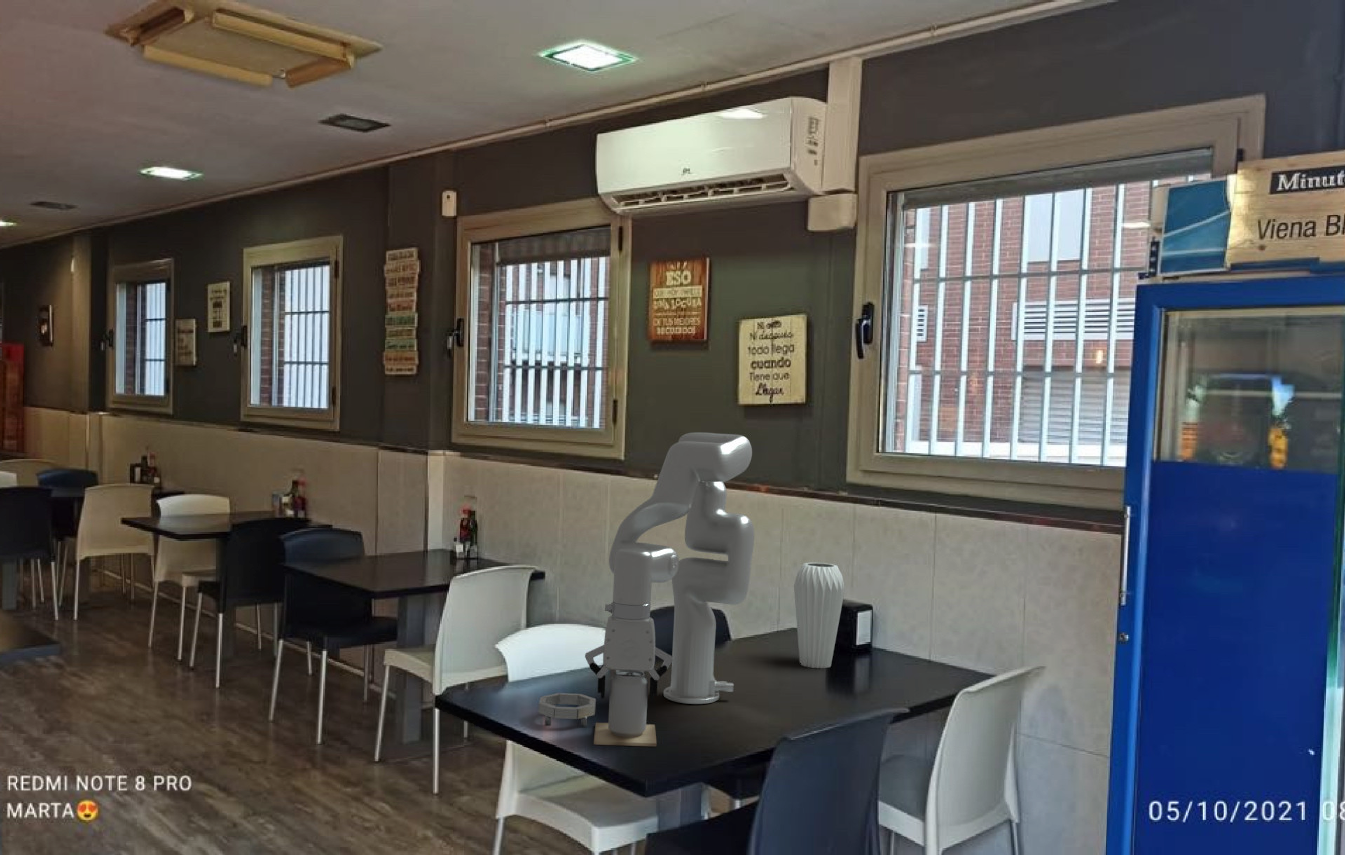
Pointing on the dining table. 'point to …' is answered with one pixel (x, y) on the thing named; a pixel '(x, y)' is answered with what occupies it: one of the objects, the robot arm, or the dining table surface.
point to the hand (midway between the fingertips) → (627, 697)
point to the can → (628, 703)
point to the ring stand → (553, 711)
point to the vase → (818, 612)
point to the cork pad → (608, 738)
